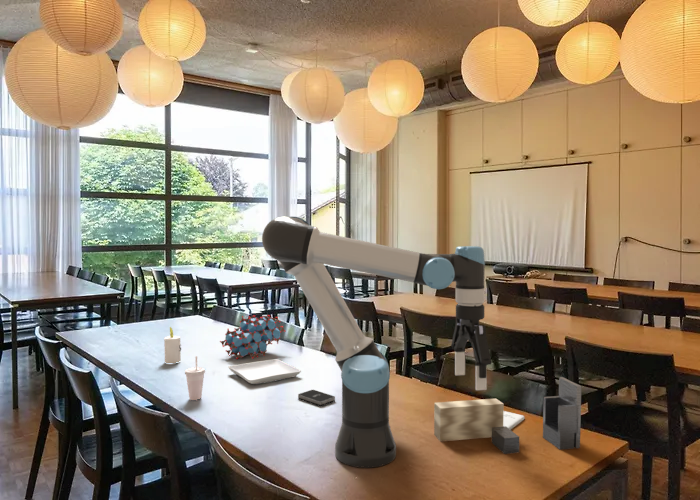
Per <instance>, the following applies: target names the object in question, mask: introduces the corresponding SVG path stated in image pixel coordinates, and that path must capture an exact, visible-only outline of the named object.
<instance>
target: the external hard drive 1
mask: <svg viewBox="0 0 700 500" xmlns="http://www.w3.org/2000/svg"><path fill="white" fill-rule="evenodd" d="M297 397H298V399H297V400H300V401H302V402H305V403H308V404H312V405H313V406H317V407H320V408H321V407H324V406H326V405H329V404H332V403H335V402H336V396H334V395H332V394H328V393H325V392H322V391H318V390H316V389H310V390H307V391H303V392H300V393H298V394H297Z"/></svg>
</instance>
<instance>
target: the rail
mask: <svg viewBox="0 0 700 500" xmlns="http://www.w3.org/2000/svg"><path fill="white" fill-rule="evenodd" d="M433 411H434V413H433V415H434V417H433V418H434V423H433V428H434V429H433V432H434V433H433V435H434V437H435V438H436V439H437V440H438V441H439V442H448V441H449V442H451V441H459V440H460V441H462V440H470V439H471V440H472V439H475V440H476V439H484V438H485V439H487V438H492V427H503V411H505V410H504V403H503V402H502V401H500V400H499V399H497V398H485V399H484V398H483V399H472V400H469V399H468V400H455V401H454V400H453V401H442V402H441V401H440V402H439V401H438V402H434V410H433Z"/></svg>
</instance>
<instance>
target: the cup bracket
mask: <svg viewBox="0 0 700 500" xmlns="http://www.w3.org/2000/svg"><path fill="white" fill-rule="evenodd" d="M542 402H543V405H542V406H543V408H542V409H543V410H542V412H543V413H542V438H543V439H544V440H546V441H547V442H549V443H550V444H551V445H552V446H554V447H555V448H556V449H558V450H559V451H560V450H561V451H562V450H571V449H580V448H581V424H582V423H581V421H582V420H581V417H582V416H581V413H582V407H581V406H582V386H581V385H580V384H578V383H576V382H573V381H571V380H569V379H567V378H565V377H558V395H554V396H543V401H542Z"/></svg>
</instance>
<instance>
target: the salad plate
mask: <svg viewBox="0 0 700 500" xmlns="http://www.w3.org/2000/svg"><path fill="white" fill-rule="evenodd" d="M228 369H229V370H230V371H231V372H232V373H233V374H235V375H237V376H238V377H240V378H242V379H243V380H245V381H246V382H248V383H249V384H250V385H258V384H259V383H261V384H265V383H264V382H266V383H270V381H272V382H276V381H275V380H277V381H281V380H280V379H282V380H286V379H285V378H287V379H290V378H293V377H297V376H298V375H299V374H300V373H302V370H301V369H299V368H296V367H294V366H292V365H291V364H288V363H286V362H284V361H282V360H280V359H277V358H274V359H266V360H260V361H253V362H247V363H241V364H234V365H230V366H228Z"/></svg>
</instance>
